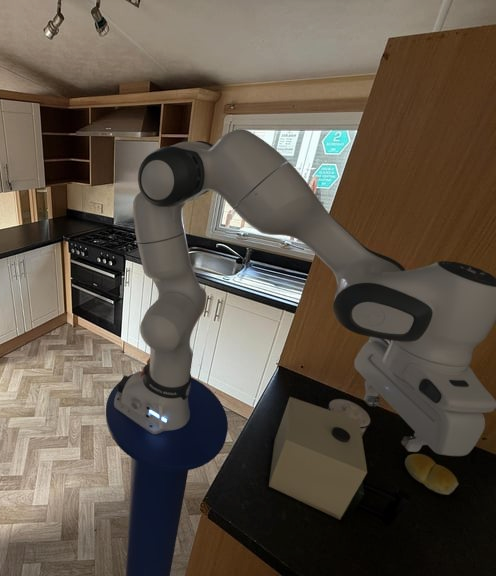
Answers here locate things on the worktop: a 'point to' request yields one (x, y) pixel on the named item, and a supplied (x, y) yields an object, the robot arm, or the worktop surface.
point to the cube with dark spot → (318, 457)
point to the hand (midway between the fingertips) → (388, 424)
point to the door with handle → (386, 516)
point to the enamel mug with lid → (350, 412)
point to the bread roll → (431, 474)
